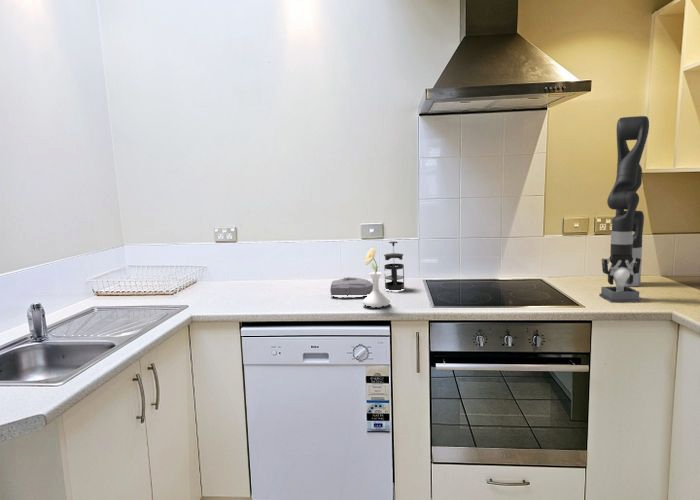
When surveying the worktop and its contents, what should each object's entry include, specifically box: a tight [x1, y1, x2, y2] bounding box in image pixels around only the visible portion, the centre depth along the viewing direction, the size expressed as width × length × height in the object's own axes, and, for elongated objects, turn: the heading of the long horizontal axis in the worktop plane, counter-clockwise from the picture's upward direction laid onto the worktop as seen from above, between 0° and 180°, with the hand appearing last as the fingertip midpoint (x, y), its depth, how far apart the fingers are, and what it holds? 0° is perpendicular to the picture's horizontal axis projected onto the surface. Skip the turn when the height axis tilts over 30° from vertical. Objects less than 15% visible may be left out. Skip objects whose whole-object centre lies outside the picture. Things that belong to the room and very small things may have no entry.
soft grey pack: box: [330, 276, 373, 296], centre depth 214 cm, size 15×8×20 cm
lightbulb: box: [613, 267, 630, 292], centre depth 187 cm, size 6×6×11 cm
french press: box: [383, 241, 405, 290], centre depth 220 cm, size 12×9×23 cm
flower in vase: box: [362, 246, 391, 308], centre depth 191 cm, size 13×11×25 cm
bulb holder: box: [598, 286, 642, 304], centre depth 188 cm, size 11×11×4 cm
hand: (620, 284), depth 187 cm, fingers closed on lightbulb, 6 cm apart
